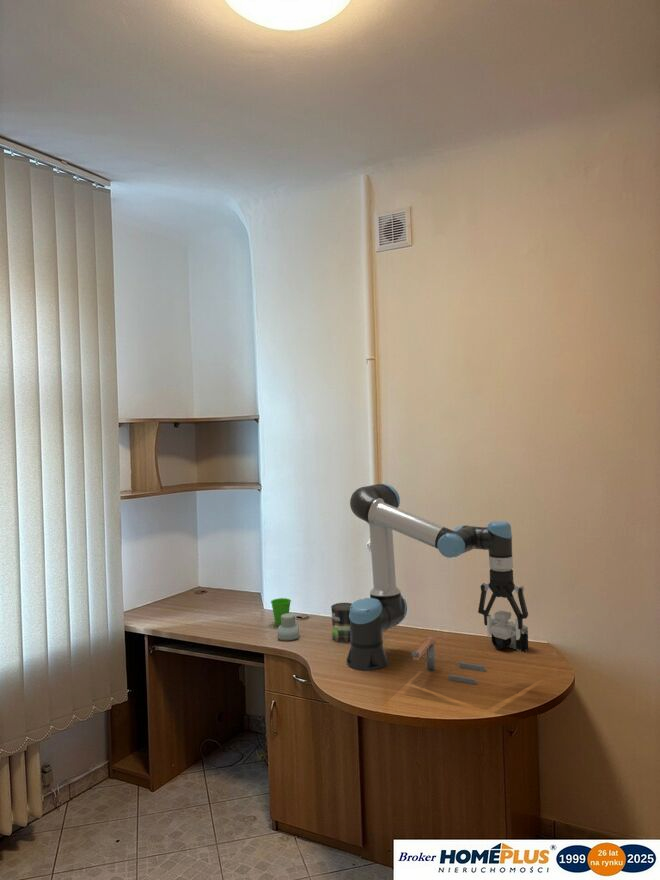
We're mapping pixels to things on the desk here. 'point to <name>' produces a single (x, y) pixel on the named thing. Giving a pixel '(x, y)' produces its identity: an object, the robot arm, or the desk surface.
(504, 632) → the stamp
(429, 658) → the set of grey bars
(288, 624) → the air freshener
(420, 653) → the ball-knob lever
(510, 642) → the camera
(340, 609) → the coffee can
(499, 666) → the desk surface
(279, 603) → the cup
